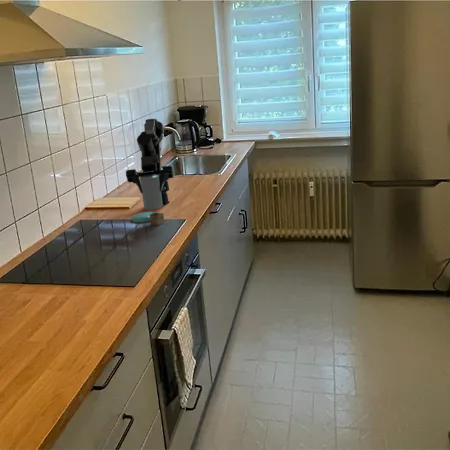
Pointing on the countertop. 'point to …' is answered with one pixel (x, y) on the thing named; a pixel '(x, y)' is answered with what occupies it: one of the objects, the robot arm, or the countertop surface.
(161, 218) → the walnut block
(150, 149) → the robot arm
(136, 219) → the dish
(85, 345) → the countertop surface
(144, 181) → the grey faceted cylinder
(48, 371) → the countertop surface
